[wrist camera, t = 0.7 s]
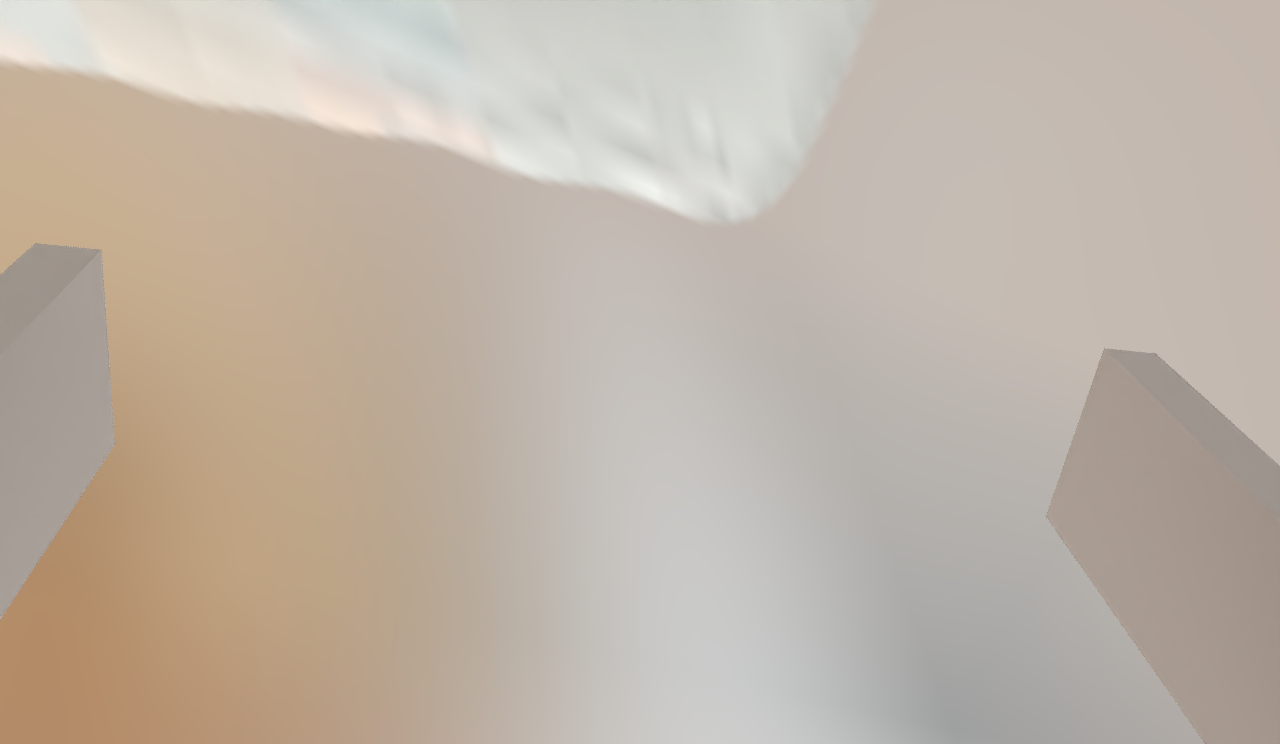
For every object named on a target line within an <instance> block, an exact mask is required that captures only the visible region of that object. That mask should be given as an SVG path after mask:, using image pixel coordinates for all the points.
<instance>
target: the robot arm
mask: <svg viewBox="0 0 1280 744" xmlns="http://www.w3.org/2000/svg"><path fill="white" fill-rule="evenodd" d="M114 445H115V441H114V426H113V412H112V397H111V382H110V368H109V354H108V339H107V325H106V309H105V296H104V280H103V265H102V251H101V250H98V249H87V248H77V247H67V246H57V245H47V244H37V243H36V244H34V245H33V246H32V247H31V248H30V249H29V250H27V251H26V252H25V253H24V254H23V255H22V256H21V257H20V258H18V259H17V260H16V261H15V262H14V263H13V264H12V265H11V266H9V267H8V268H7V269H6V270H5V271H4V272H3V273H2V274H0V619H1V618H2V616H3V615H4V613H5V612H6V610H7V608H8V607H9V606H10V604H11V602H12V601H13V599H14V598H15V596H16V595H17V593H18V592H19V590H20V589H21V587H22V586H23V584H24V582H25V581H26V579H27V578H28V576H29V575H30V573H31V572H32V570H33V569H34V567H35V566H36V564H37V563H38V561H39V560H40V558H41V556H42V555H43V553H44V552H45V550H46V549H47V547H48V546H49V544H50V543H51V541H52V540H53V538H54V537H55V535H56V533H57V532H58V531H59V529H60V527H61V526H62V524H63V523H64V521H65V520H66V518H67V517H68V515H69V514H70V512H71V511H72V509H73V507H74V506H75V504H76V503H77V501H78V500H79V498H80V497H81V495H82V494H83V492H84V490H85V489H86V488H87V486H88V484H89V483H90V482H91V480H92V478H93V477H94V475H95V474H96V472H97V471H98V469H99V468H100V466H101V464H102V463H103V462H104V460H105V459H106V457H107V455H108V454H109V452H110V451H111V449H112V448H113V446H114ZM1046 518H1047V519H1048V520H1049V522H1050V523H1051V525H1052V526H1053V528H1054V529H1055V530H1056V532H1057V533H1058V535H1059V536H1060V537H1061V539H1062V540H1063V542H1064V543H1065V545H1066V546H1067V547H1068V549H1069V550H1070V552H1071V553H1072V555H1073V556H1074V557H1075V559H1076V560H1077V562H1078V563H1079V564H1080V566H1081V568H1082V569H1083V570H1084V572H1085V573H1086V574H1087V576H1088V577H1089V578H1090V580H1091V582H1092V583H1093V585H1094V586H1095V587H1096V589H1097V590H1098V592H1099V593H1100V595H1101V596H1102V597H1103V599H1104V600H1105V602H1106V603H1107V605H1108V606H1109V607H1110V609H1111V610H1112V612H1113V613H1114V615H1115V616H1116V617H1117V619H1118V620H1119V622H1120V623H1121V625H1122V626H1123V627H1124V629H1125V630H1126V632H1127V633H1128V635H1129V636H1130V637H1131V639H1132V640H1133V642H1134V643H1135V644H1136V646H1137V647H1138V649H1139V650H1140V651H1141V653H1142V655H1143V656H1144V657H1145V659H1146V660H1147V662H1148V663H1149V665H1150V666H1151V667H1152V669H1153V670H1154V672H1155V673H1156V675H1157V676H1158V677H1159V679H1160V680H1161V682H1162V683H1163V684H1164V686H1165V687H1166V689H1167V690H1168V692H1169V693H1170V694H1171V696H1172V697H1173V699H1174V700H1175V702H1176V703H1177V705H1178V706H1179V707H1180V709H1181V710H1182V712H1183V713H1184V714H1185V716H1186V717H1187V719H1188V720H1189V722H1190V723H1191V724H1192V726H1193V727H1194V729H1195V730H1196V732H1197V733H1198V734H1199V736H1200V737H1201V739H1202V740H1203V742H1204V743H1205V744H1280V466H1279V465H1278V464H1277V463H1276V462H1275V461H1274V460H1273V459H1271V458H1270V457H1269V456H1268V455H1267V454H1266V453H1265V452H1264V451H1263V450H1261V449H1260V448H1259V447H1258V446H1257V445H1256V444H1255V443H1254V442H1253V441H1252V440H1251V439H1249V438H1248V437H1247V436H1246V435H1245V434H1244V433H1243V432H1242V431H1241V430H1239V429H1238V428H1237V427H1236V426H1235V425H1234V424H1233V423H1232V422H1231V421H1230V420H1228V419H1227V418H1226V417H1225V416H1224V415H1223V414H1222V413H1221V412H1220V411H1219V410H1217V409H1216V408H1215V407H1214V406H1213V405H1212V404H1211V403H1210V402H1209V401H1208V400H1206V399H1205V398H1204V397H1203V396H1202V395H1201V394H1200V393H1198V391H1197V390H1195V389H1194V388H1193V387H1192V386H1191V385H1190V384H1188V382H1186V380H1184V379H1183V378H1182V377H1181V376H1180V375H1179V374H1178V373H1177V372H1176V371H1175V370H1173V369H1172V368H1171V367H1170V366H1169V365H1168V364H1167V363H1166V362H1165V361H1164V360H1162V359H1161V358H1160V357H1159V356H1158V355H1157V354H1154V353H1144V352H1134V351H1124V350H1114V349H1104V351H1103V353H1102V356H1101V359H1100V362H1099V365H1098V368H1097V371H1096V373H1095V376H1094V379H1093V382H1092V385H1091V388H1090V391H1089V394H1088V396H1087V399H1086V402H1085V406H1084V408H1083V411H1082V414H1081V417H1080V419H1079V422H1078V425H1077V428H1076V431H1075V434H1074V437H1073V440H1072V443H1071V445H1070V448H1069V451H1068V454H1067V457H1066V460H1065V463H1064V466H1063V469H1062V472H1061V475H1060V477H1059V480H1058V483H1057V486H1056V489H1055V492H1054V494H1053V497H1052V500H1051V503H1050V506H1049V509H1048V512H1047V515H1046Z"/></svg>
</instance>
